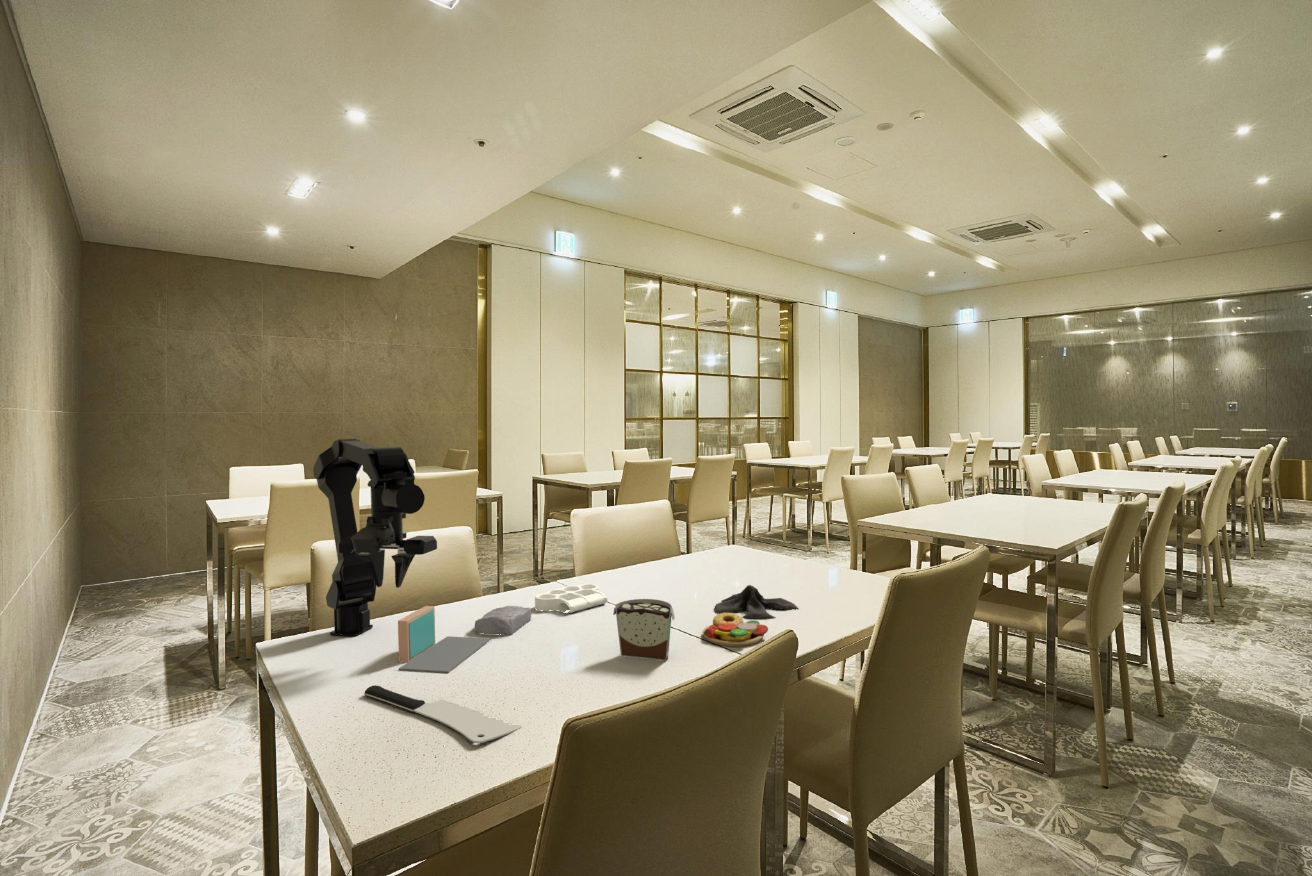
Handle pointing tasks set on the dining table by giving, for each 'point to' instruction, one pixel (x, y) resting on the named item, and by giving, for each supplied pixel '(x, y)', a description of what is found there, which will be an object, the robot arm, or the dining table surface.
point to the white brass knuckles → (570, 598)
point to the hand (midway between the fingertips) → (388, 587)
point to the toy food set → (734, 630)
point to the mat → (445, 654)
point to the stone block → (503, 620)
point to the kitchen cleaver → (447, 715)
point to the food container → (644, 628)
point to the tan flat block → (416, 633)
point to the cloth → (752, 604)
